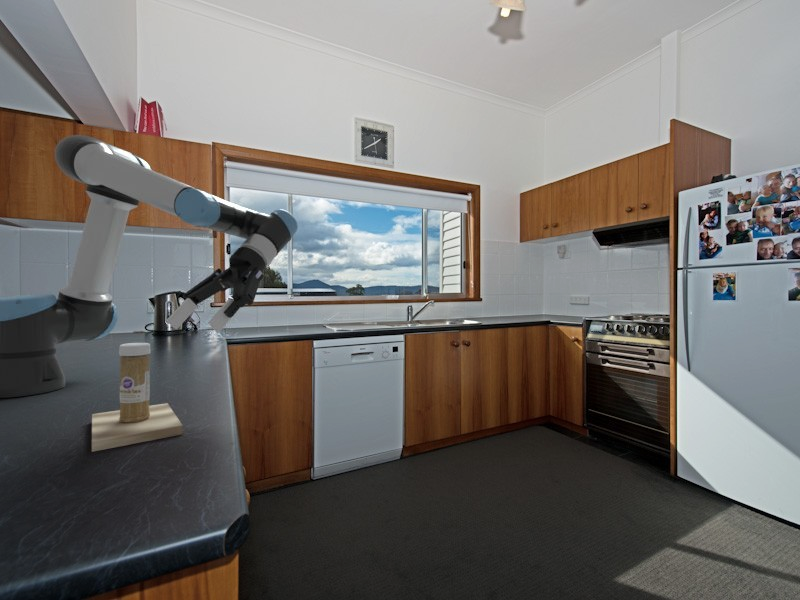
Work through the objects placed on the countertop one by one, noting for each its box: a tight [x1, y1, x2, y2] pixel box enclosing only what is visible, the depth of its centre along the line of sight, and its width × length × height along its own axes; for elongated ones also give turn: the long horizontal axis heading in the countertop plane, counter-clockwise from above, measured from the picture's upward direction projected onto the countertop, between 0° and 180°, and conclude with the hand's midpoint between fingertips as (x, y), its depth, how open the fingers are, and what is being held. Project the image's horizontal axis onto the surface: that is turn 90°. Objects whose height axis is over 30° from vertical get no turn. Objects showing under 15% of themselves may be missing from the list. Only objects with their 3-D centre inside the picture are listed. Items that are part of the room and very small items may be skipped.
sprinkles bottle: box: [118, 342, 151, 422], centre depth 68 cm, size 5×5×14 cm
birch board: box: [91, 402, 184, 453], centre depth 68 cm, size 17×12×2 cm
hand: (191, 326), depth 77 cm, fingers open, 13 cm apart
